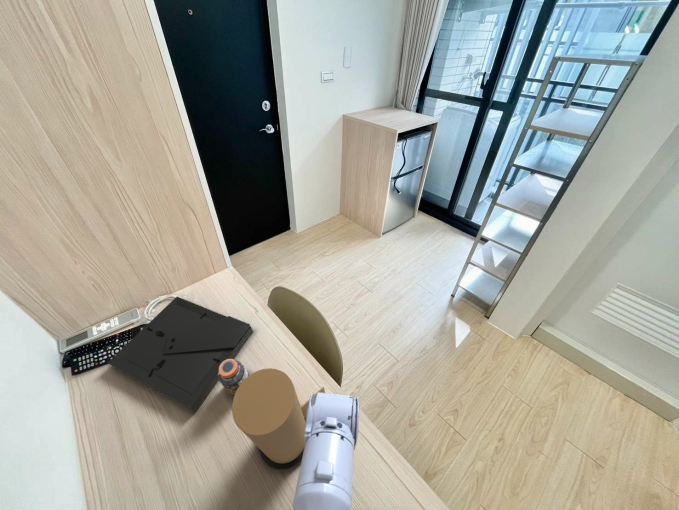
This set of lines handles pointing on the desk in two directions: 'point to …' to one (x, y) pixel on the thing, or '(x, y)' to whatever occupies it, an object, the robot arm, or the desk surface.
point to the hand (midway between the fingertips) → (335, 454)
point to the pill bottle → (232, 375)
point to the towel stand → (282, 465)
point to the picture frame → (183, 351)
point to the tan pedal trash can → (271, 414)
